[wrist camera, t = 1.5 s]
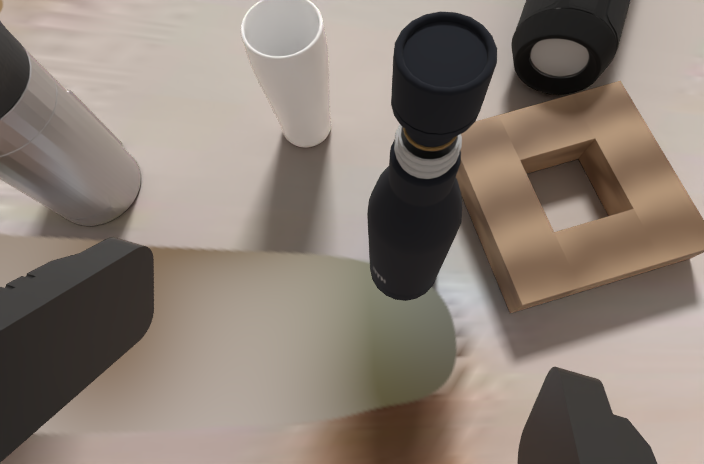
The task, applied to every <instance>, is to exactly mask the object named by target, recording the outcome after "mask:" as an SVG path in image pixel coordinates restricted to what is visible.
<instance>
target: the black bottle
mask: <svg viewBox="0 0 704 464" xmlns="http://www.w3.org/2000/svg"><path fill="white" fill-rule="evenodd" d="M496 64H497V47H496V45H495V42H494V40H493V37H492V35H491V34H490V33H489V32H488V30H487V29H486V28H485V27H484V26H483V25H482V24H480V23H479V22H477V21H476V20H474V19H473V18H471V17H468V16H465V15H462V14H459V13H454V12H436V13H431V14H426V15H423V16H421V17H419V18H417V19H415V20H413V21H412V22H411V23H409V24H408V25H407V26H406V27H405V28H404V29H403V30H402V31H401V33H400V35H399V36H398V38H397V40H396V42H395V48H394V56H393V78H392V99H391V105H392V109H393V113H394V116H395V117H396V119H397V120H398V122H399V123H400V125H399V127H398V129H397V131H396V134H395V140H394V142H393V144H392V146H391V150H390V162H389V166H388V167H387V168H386V169H385V171H384V172H383V173H382V174H381V175H380V177H379V179H378V181H377V183H376V185H375V187H374V189H373V191H372V193H371V196H370V199H369V205H368V213H367V215H368V235H369V255H370V270H371V275H372V279H373V281H374V283H375V284H376V286H377V288H378V289H379V290H380V291H382V292H383V293H384V294H385V295H386V296H389V297H391V298H393V299H397V300H405V301H406V300H411V299H416V298H418V297H420V296H421V295H423V294H425V293H426V292H427V291H428V290H429V289H430V288H431V287H432V285H433V283H434V281H435V279H436V277H437V275H438V273H439V270H440V268H441V266H442V264H443V262H444V260H445V258H446V255H447V253H448V251H449V249H450V247H451V245H452V242H453V240H454V238H455V236H456V234H457V231H458V229H459V226H460V224H461V217H462V196H461V191H460V187H459V184H458V181H457V178H456V175H457V172H458V169H459V166H460V163H461V151H460V150H461V147H462V136H461V134H462V133H464V132H465V131H467V130H468V129H469V128H470V127H471V126H472V125H473V123H474V122H475V121H476V119H477V116H478V114H479V112H480V109H481V106H482V104H483V101H484V98H485V95H486V92H487V89H488V86H489V84H490V81H491V78H492V75H493V72H494V69H495V66H496Z"/></svg>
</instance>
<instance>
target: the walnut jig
mask: <svg viewBox="0 0 704 464" xmlns="http://www.w3.org/2000/svg"><path fill="white" fill-rule="evenodd" d="M461 136H462V147H461V150H460V151H461V163H460V166H459V169H458V172H457V175H456V178H457V181H458V184H459V187H460V191H461V195H462V198H463V200H464V202H465V205H466V207H467V210H468V212H469V215H470V217H471V220H472V222H473V224H474V227H475V229H476V232H477V234H478V237H479V239H480V241H481V244H482V246H483V249H484V251H485V254H486V256H487V259H488V261H489V263H490V266H491V268H492V271H493V273H494V276H495V278H496V280H497V283H498V285H499V288H500V290H501V293H502V295H503V297H504V300H505V302H506V305H507V307H508V310H509V312H510V313H513V312H517V311H520V310H523V309H527V308H530V307H533V306H536V305H540V304H543V303H546V302H549V301H553V300H556V299H559V298H563V297H566V296H569V295H572V294H576V293H579V292H582V291H586V290H589V289H592V288H595V287H599V286H602V285H605V284H608V283H612V282H615V281H618V280H622V279H625V278H628V277H631V276H635V275H638V274H641V273H645V272H648V271H651V270H654V269H658V268H661V267H664V266H667V265H671V264H674V263H677V262H681V261H684V260H687V259H690V258H692V257H695V256H697V255H699V254H701V253H703V252H704V220H703V218H702V216H701V215H700V213H699V211H698V210H697V208H696V206H695V205H694V203H693V201H692V200H691V198H690V196H689V195H688V193H687V191H686V190H685V188H684V186H683V185H682V183H681V181H680V180H679V178H678V176H677V175H676V173H675V171H674V170H673V168H672V166H671V165H670V163H669V161H668V160H667V158H666V156H665V155H664V153H663V151H662V150H661V148H660V146H659V145H658V143H657V141H656V140H655V138H654V136H653V135H652V133H651V131H650V130H649V128H648V126H647V124H646V123H645V121H644V119H643V118H642V116H641V114H640V113H639V111H638V109H637V108H636V106H635V104H634V103H633V101H632V99H631V98H630V96H629V94H628V93H627V91H626V89H625V88H624V86H623V84H622V83H621V81H618V82H614V83H611V84H607V85H603V86H600V87H596V88H593V89H589V90H586V91H582V92H579V93H575V94H572V95H568V96H564V97H561V98H557V99H554V100H550V101H547V102H543V103H540V104H536V105H533V106H529V107H525V108H522V109H518V110H515V111H511V112H508V113H504V114H501V115H497V116H494V117H490V118H486V119H483V120H479V121H476V122H474V123H473V125H472V126H471V127H470V128H469V129H468V130H467V131H465V132H464V133H462V134H461ZM576 159H579V161H580V163H581V165H582V167H583V168H584V170H585V172H586V174H587V176H588V178H589V180H590V182H591V184H592V186H593V188H594V189H595V191H596V193H597V195H598V197H599V199H600V201H601V203H602V205H603V207H604V209H605V211H606V212H607V214H608V217H605V218H601V219H598V220H594V221H591V222H588V223H584V224H581V225H578V226H574V227H571V228H568V229H564V230H561V231H557V232H554V231H553V229H552V227H551V225H550V223H549V220H548V218H547V216H546V214H545V212H544V210H543V208H542V206H541V204H540V201H539V199H538V197H537V195H536V193H535V191H534V189H533V187H532V184H531V182H530V180H529V178H528V176H527V174H528V173H531V172H535V171H538V170H541V169H545V168H548V167H552V166H555V165H559V164H562V163H566V162H569V161H573V160H576Z"/></svg>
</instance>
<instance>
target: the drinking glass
mask: <svg viewBox="0 0 704 464" xmlns="http://www.w3.org/2000/svg"><path fill="white" fill-rule="evenodd" d="M241 37H242V40H243V43H244V47H245V50H246V53H247V56H248V59H249V62H250V65H251V67H252V70H253V72H254V74H255V76H256V78H257V81H258V83H259V85H260V87H261V88H262V90H263V92H264V94H265V96H266V98H267V100H268V102H269V104H270V106H271V108H272V110H273V112H274V114H275V116H276V118H277V120H278V122H279V124H280V126H281V129H282V131H283V134H284V136H285V137H286V139H287V140H288V141H289V142H290V143H292V144H294V145H296V146H299V147H312V146H316V145H318V144H320V143H321V142H322V141H324V140H325V139H326V137H327V136H328V134H329V132H330V129H331V117H330V99H329V56H328V46H327V40H326V34H325V29H324V24H323V19H322V16H321V13H320V11H319V10H318V8H317V7H316V6H315V5H314V4H313V3H312V2H311V1H309V0H261V1H259V2H257V3H256V4H255V5H253V6H252V7H251V8H250V9H249V10H248V12H247V13H246V15H245V16H244V18H243V21H242V24H241Z"/></svg>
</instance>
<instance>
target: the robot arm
mask: <svg viewBox="0 0 704 464" xmlns="http://www.w3.org/2000/svg"><path fill="white" fill-rule="evenodd" d="M0 179H1V180H2V181H4V182H6V183H7V184H9V185H11V186H12V187H14V188H16V189H17V190H19V191H21V192H22V193H24V194H26V195H27V196H29V197H31V198H32V199H34V200H36V201H37V202H39V203H41V204H42V205H44V206H46V207H47V208H49V209H51V210H52V211H54V212H56V213H57V214H59V215H61V216H62V217H64V218H66V219H67V220H69V221H71V222H73V223H75V224H79V225H84V226H94V225H100V224H104V223H106V222H109V221H112V220H113V219H115V218H117V217H118V216H120V215H121V214H122V213H123V212H125V211H126V210H127V209H128V208H129V206H130V205H131V204H132V203H133V202H134V200H135V198H136V196H137V194H138V191H139V188H140V184H141V174H140V169H139V166H138V164H137V162H136V161H135V160H134V158H133V157H132V156H131V155H130V154H129V153H128V152H127V151H126V150H125V149H124V148H123V146H122V142H121V141H120V140H119V139H118V138H117V137H116V136H115V135H114V134H113V133H112V132H111V131H110V130H109V129H108V128H107V127H106V126H105V125H104V124H103V123H102V122H101V121H100V120H99V119H98V118H97V117H96V116H95V115H94V114H93V113H92V112H91V111H90V109H89V108H88V107H87V106H86V105H85V104H84V103H83V102H82V101H81V100H80V99H79V98H78V97H77V96H76V95H75V94H74V93H73V92H72V91H70V90H66V89H65V88H64V87H63V86H62V85H61V84H60V83H59V82H58V81H57V80H56V79H55V78H54V77H53V76H52V75H51V74H50V73H49V72H48V71H47V70H46V69H45V68H44V67H43V66H42V65H41V64H40V63H39V62H38V61H37V60H36V59H35V58H34V57H33V56H32V55H31V54H30V53H29V52H28V51H27V50H26V49H25V48H24V47H23V46H22V45H21V44H20V43H19V41H18V40H17V39H16V38H15V37H14V36H13V35H12V34H11V33H10V32H9V31H8V30H7V29H6V28H5V26H4V25H3V24H2V23H1V21H0ZM153 268H154V266H153V254H152V251H151V250H150V249H149V248H148V247H146V246H142V245H139V244H136V243H132V242H129V241H125V240H122V239H118V238H115V237H111V238H108V239H105V240H104V241H102V242H100V243H98V244H96V245H94V246H92V247H91V248H89V249H87V250H85V251H83V252H81V253H79V254H75V255H71V256H68V257H64V258H61V259H57V260H54V261H51V262H48V263H47V264H45V265H43V266H41V267H39V268H37V269H35V270H33V271H31V272H29V273H27V276H26V277H23V276H21V277H20V278H17V279H16V280H13V281H11V282H10V283H8V284H6V287H5V288H2V287H0V462H1V461H3V460H4V459H5V458H6V457H7V456H8V455H9V454H11V453H12V452H13V451H14V450H15V449H16V448H17V447H19V446H20V445H21V444H22V443H23V442H24V441H25V440H27V439H28V438H29V437H30V436H31V435H32V434H33V433H34V432H36V431H37V430H38V429H39V428H40V427H41V426H42V425H43V424H45V423H46V422H47V421H48V420H49V419H50V418H52V417H53V416H54V415H55V414H56V413H57V412H58V411H60V410H61V409H62V408H63V407H64V406H65V405H66V404H67V403H69V402H70V401H71V400H72V399H73V398H74V397H76V396H77V395H78V394H79V393H80V392H81V391H82V390H84V389H85V388H86V387H87V386H88V385H89V384H90V383H91V382H93V381H94V380H95V379H96V378H97V377H98V376H99V375H101V374H102V373H103V372H104V371H105V370H106V369H107V368H109V367H110V366H111V365H112V364H113V363H114V362H116V361H117V360H118V359H119V358H120V357H121V356H122V355H124V354H125V353H126V352H127V351H128V350H129V349H130V348H132V347H133V346H134V345H135V344H136V343H137V342H138V341H140V340H141V338H142V337H143V336H144V335H145V333H146V332H147V330H148V328H149V326H150V324H151V321H152V318H153V313H154V277H153V276H154V273H153V272H154V270H153ZM518 464H657V462H656V459H655V457H654V454H653V452H652V449H651V447H650V446H649V444H648V443H647V442H646V441H645V440H644V438H643V437H642V436H641V435H640V433H639V432H638V431H637V430H636V428H635V427H634V426H633V425H632V424H631V422H630V421H629V420H628V419H627V418H623V417H620V416H617V415H613V413H612V410H611V407H610V404H609V401H608V398H607V396H606V393H605V390H604V387H603V384H602V382H601V381H600V380H599V379H596V378H592V377H589V376H585V375H582V374H578V373H575V372H572V371H568V370H565V369H561V368H558V367H553V368H552V369H551V370H550V371H549V372H548V374H547V376H546V378H545V381H544V383H543V385H542V388H541V390H540V392H539V395H538V397H537V399H536V401H535V404H534V406H533V408H532V411H531V413H530V415H529V418H528V420H527V422H526V425H525V427H524V429H523V432H522V436H521V440H520V444H519V451H518Z"/></svg>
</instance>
